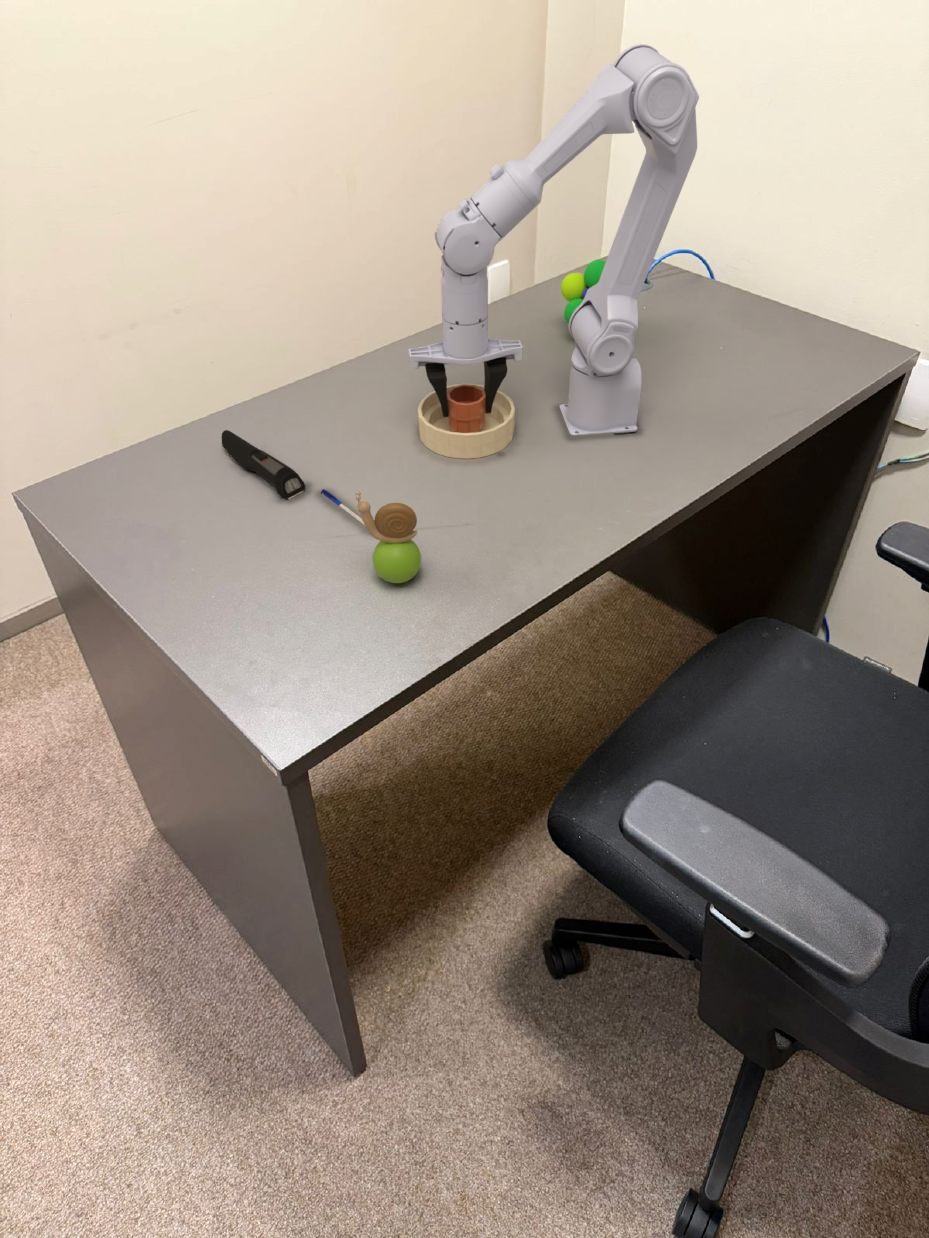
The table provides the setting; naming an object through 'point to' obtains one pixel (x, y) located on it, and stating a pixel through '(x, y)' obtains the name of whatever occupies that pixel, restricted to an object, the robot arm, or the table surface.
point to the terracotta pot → (466, 408)
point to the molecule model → (580, 286)
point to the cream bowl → (466, 444)
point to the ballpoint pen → (341, 504)
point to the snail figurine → (392, 540)
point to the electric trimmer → (263, 465)
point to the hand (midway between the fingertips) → (466, 411)
